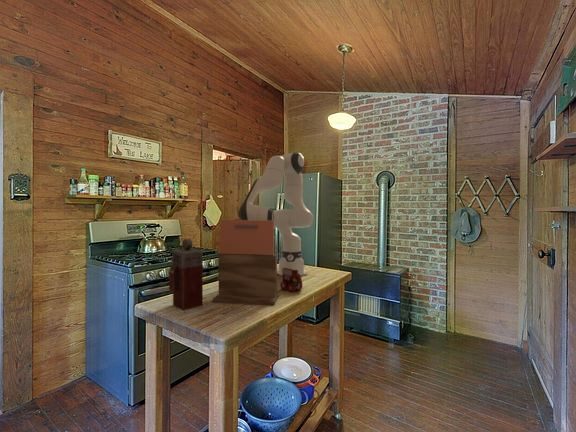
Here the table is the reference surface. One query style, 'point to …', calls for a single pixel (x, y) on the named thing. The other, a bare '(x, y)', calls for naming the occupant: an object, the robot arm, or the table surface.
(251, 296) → the wooden box
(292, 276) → the dark red lumpy cluster
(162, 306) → the table surface
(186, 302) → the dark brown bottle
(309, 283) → the table surface
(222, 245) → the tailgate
